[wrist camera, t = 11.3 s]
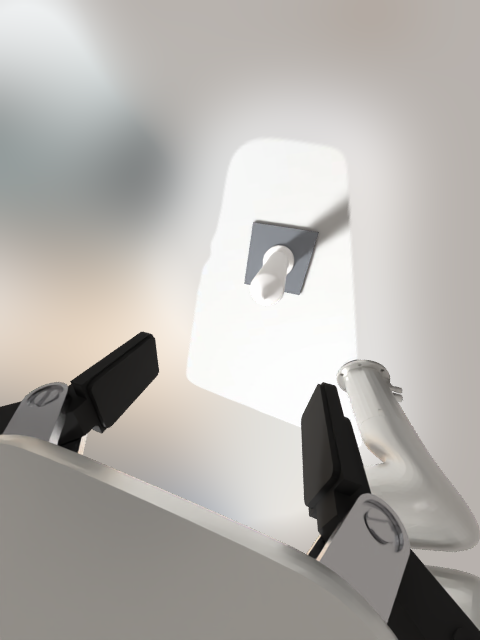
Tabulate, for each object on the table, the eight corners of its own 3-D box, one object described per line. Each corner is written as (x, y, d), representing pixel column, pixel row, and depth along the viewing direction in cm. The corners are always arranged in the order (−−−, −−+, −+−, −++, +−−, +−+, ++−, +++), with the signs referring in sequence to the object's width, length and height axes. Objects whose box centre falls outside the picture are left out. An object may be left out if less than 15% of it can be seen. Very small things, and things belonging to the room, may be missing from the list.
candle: (294, 243, 40) (294, 264, 18) (294, 275, 43) (295, 325, 21) (261, 247, 42) (228, 270, 20) (264, 277, 45) (237, 325, 23)
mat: (318, 232, 38) (318, 232, 38) (299, 293, 45) (299, 295, 45) (253, 222, 41) (253, 222, 40) (245, 282, 48) (244, 283, 47)
